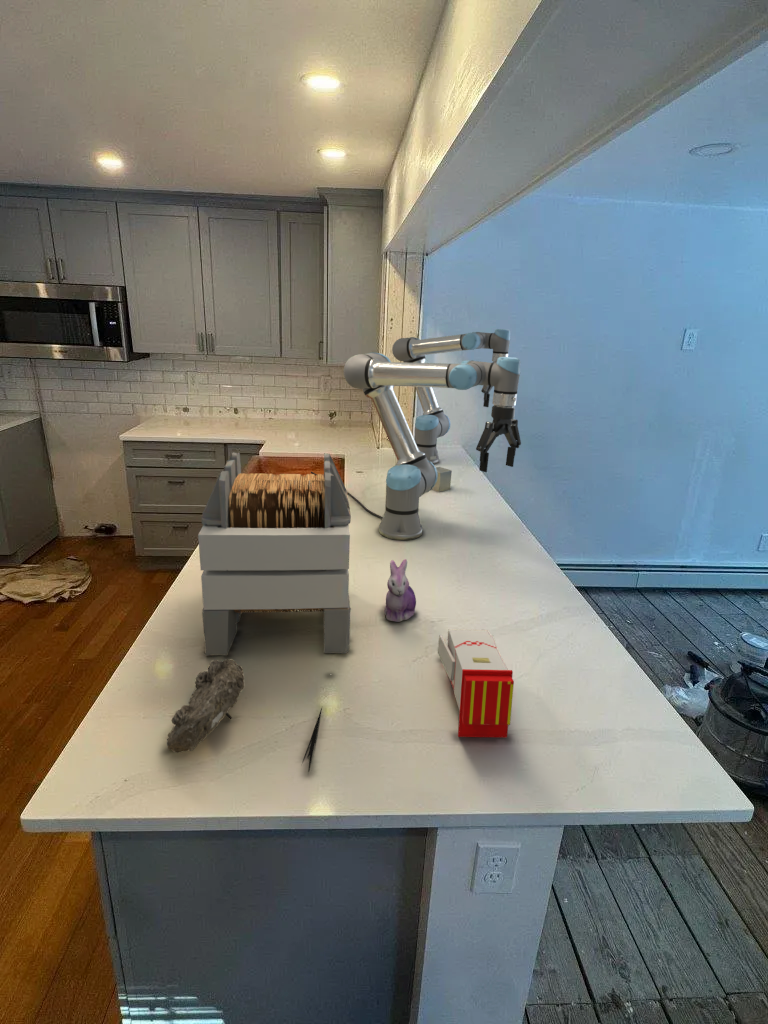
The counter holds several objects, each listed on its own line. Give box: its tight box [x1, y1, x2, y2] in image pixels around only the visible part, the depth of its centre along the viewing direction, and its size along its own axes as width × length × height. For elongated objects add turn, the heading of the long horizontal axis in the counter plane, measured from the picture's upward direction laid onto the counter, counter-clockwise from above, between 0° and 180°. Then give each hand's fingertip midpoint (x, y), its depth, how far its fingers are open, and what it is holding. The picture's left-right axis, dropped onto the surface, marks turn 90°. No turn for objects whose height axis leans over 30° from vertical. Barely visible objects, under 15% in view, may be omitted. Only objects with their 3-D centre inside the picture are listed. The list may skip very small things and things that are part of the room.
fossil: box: [166, 658, 245, 754], centre depth 106 cm, size 22×10×15 cm
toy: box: [437, 628, 515, 738], centre depth 117 cm, size 12×13×30 cm
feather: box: [301, 673, 332, 771], centre depth 108 cm, size 2×28×2 cm
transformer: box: [197, 451, 352, 657], centre depth 136 cm, size 34×33×41 cm
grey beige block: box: [431, 466, 453, 493], centre depth 251 cm, size 8×7×9 cm
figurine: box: [384, 558, 417, 623], centre depth 145 cm, size 9×10×15 cm
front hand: (496, 468), depth 193 cm, fingers open, 13 cm apart
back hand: (494, 405), depth 285 cm, fingers open, 13 cm apart
